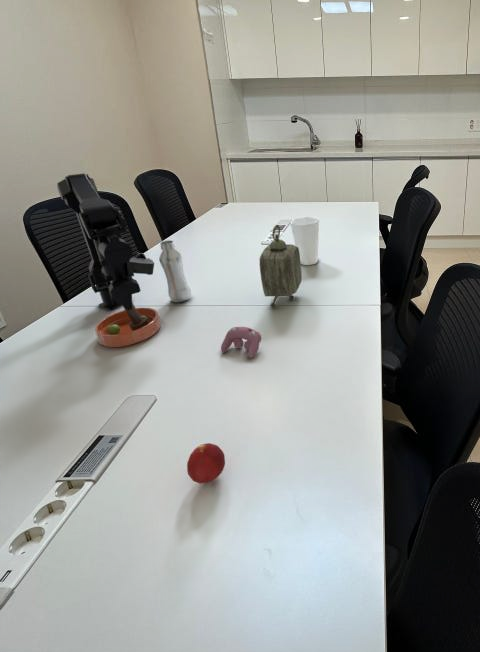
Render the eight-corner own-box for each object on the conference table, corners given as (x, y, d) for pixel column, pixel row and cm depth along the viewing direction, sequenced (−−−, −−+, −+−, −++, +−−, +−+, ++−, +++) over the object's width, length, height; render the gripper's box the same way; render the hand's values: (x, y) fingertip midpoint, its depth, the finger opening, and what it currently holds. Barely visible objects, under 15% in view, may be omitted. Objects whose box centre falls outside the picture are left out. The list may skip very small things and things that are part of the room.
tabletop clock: (277, 290, 132) (268, 219, 122) (304, 289, 132) (296, 218, 122) (266, 311, 119) (254, 233, 109) (295, 310, 118) (286, 233, 108)
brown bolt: (129, 329, 108) (104, 287, 101) (144, 320, 111) (121, 279, 104) (136, 334, 105) (111, 291, 98) (151, 324, 108) (128, 282, 101)
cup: (327, 260, 156) (324, 219, 149) (311, 269, 148) (306, 226, 141) (306, 255, 161) (302, 215, 154) (289, 263, 154) (284, 222, 147)
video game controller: (261, 356, 100) (265, 329, 100) (251, 359, 96) (254, 331, 96) (230, 349, 103) (233, 323, 103) (218, 352, 99) (222, 324, 99)
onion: (198, 465, 68) (189, 431, 65) (232, 462, 69) (224, 429, 66) (187, 496, 63) (176, 461, 60) (223, 492, 63) (214, 457, 60)
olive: (111, 336, 108) (105, 327, 107) (122, 330, 109) (116, 321, 109) (110, 338, 105) (104, 328, 105) (122, 332, 107) (116, 322, 106)
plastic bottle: (184, 305, 124) (169, 246, 116) (165, 303, 125) (149, 245, 117) (196, 296, 129) (183, 239, 121) (178, 294, 131) (164, 238, 123)
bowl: (87, 340, 106) (82, 328, 104) (139, 315, 119) (135, 303, 117) (122, 354, 100) (117, 341, 98) (172, 325, 112) (169, 313, 111)
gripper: (154, 256, 96) (169, 311, 102) (140, 238, 109) (154, 287, 116) (102, 268, 90) (121, 325, 96) (93, 247, 103) (111, 298, 109)
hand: (128, 307), depth 104 cm, fingers closed on brown bolt, 2 cm apart
